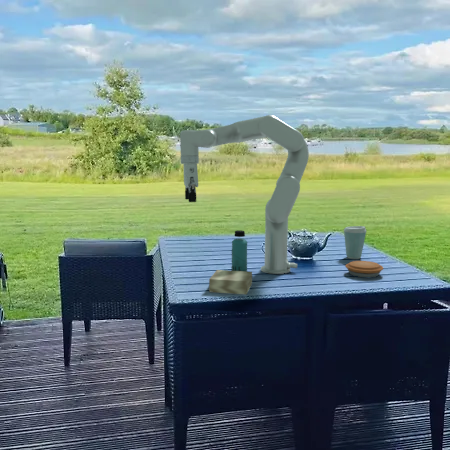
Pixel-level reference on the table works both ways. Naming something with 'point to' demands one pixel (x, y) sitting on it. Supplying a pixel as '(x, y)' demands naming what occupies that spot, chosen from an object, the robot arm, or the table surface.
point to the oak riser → (230, 282)
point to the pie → (364, 268)
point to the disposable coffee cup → (354, 241)
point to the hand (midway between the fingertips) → (190, 200)
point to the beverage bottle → (239, 252)
